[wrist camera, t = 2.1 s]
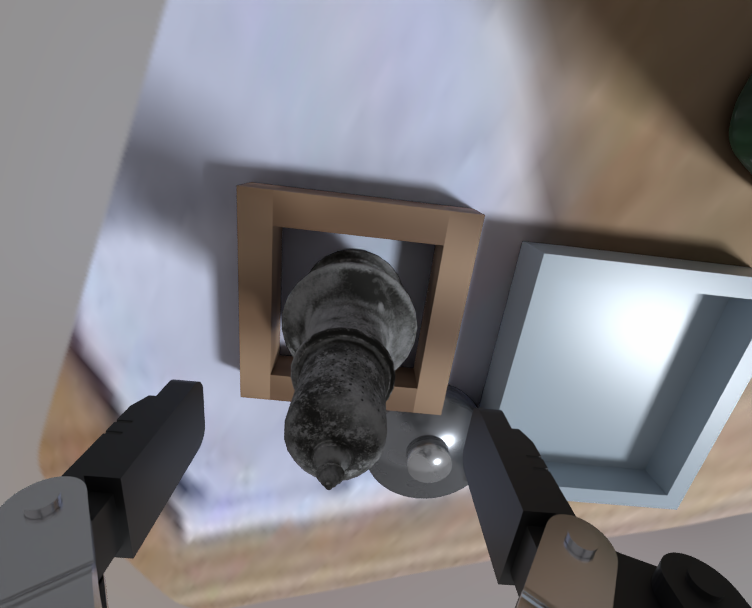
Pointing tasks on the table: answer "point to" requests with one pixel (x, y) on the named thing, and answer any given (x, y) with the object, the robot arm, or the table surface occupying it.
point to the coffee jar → (742, 126)
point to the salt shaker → (344, 362)
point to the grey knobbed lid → (426, 449)
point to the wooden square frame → (361, 218)
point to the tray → (621, 367)
